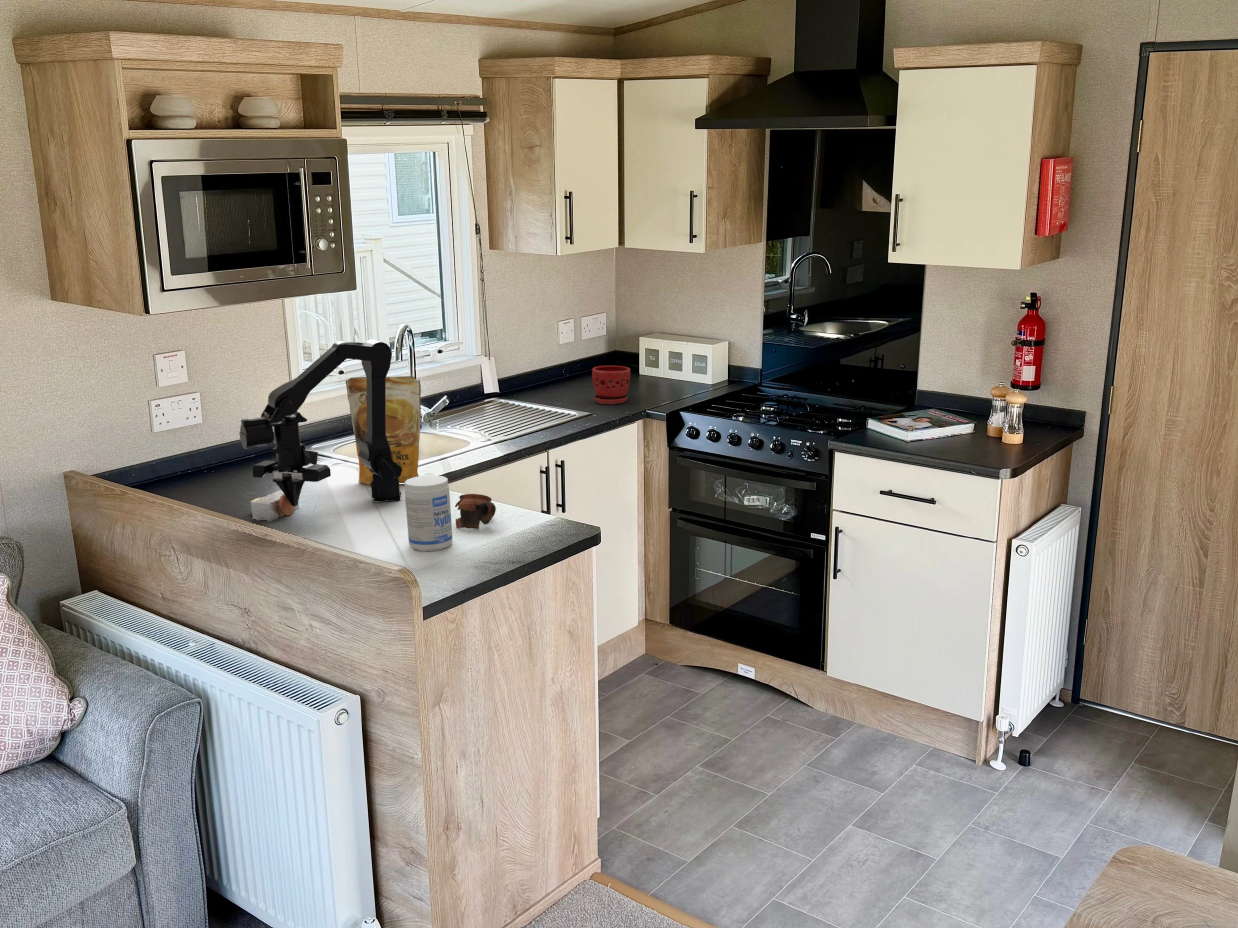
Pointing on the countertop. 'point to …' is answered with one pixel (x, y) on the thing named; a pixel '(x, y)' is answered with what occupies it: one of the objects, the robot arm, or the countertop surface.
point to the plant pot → (611, 384)
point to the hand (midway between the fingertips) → (294, 505)
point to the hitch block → (267, 507)
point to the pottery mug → (474, 510)
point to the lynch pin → (282, 506)
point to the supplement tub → (428, 512)
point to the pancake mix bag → (390, 422)
